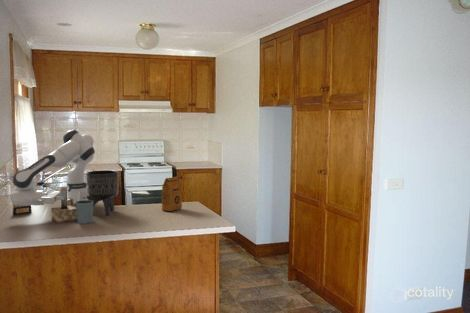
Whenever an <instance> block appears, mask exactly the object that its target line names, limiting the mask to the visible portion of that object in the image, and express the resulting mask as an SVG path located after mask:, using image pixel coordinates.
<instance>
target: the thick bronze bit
mask: <svg viewBox="0 0 470 313" xmlns="http://www.w3.org/2000/svg"><path fill="white" fill-rule="evenodd" d="M67 206H72V207H75V204H74V201H73V199H71V198H69V199H67Z"/></svg>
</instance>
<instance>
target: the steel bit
mask: <svg viewBox="0 0 470 313" xmlns="http://www.w3.org/2000/svg"><path fill="white" fill-rule="evenodd" d="M60 192H61V196H65V199H64V200H60V207H61V209H67V193H68V191H67V186H61V187H60Z"/></svg>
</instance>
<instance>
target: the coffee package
mask: <svg viewBox="0 0 470 313" xmlns="http://www.w3.org/2000/svg"><path fill="white" fill-rule="evenodd" d="M182 203H183V202H182V190H181V187H180V185H179V182H178V176H173V177H166V178H165V179H164V182H163V184H162V188H161V210H162V211H166V212H173V211H178V210H182V206H183V205H182Z"/></svg>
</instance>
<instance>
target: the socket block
mask: <svg viewBox="0 0 470 313" xmlns="http://www.w3.org/2000/svg"><path fill="white" fill-rule="evenodd" d="M50 209H51V220H52V221H54V222H56V223H58V224H61V223H66V222H73V221H77V212H76V206H74V207H72V206H67V209H61V206H57V207H51V208H50Z"/></svg>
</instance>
